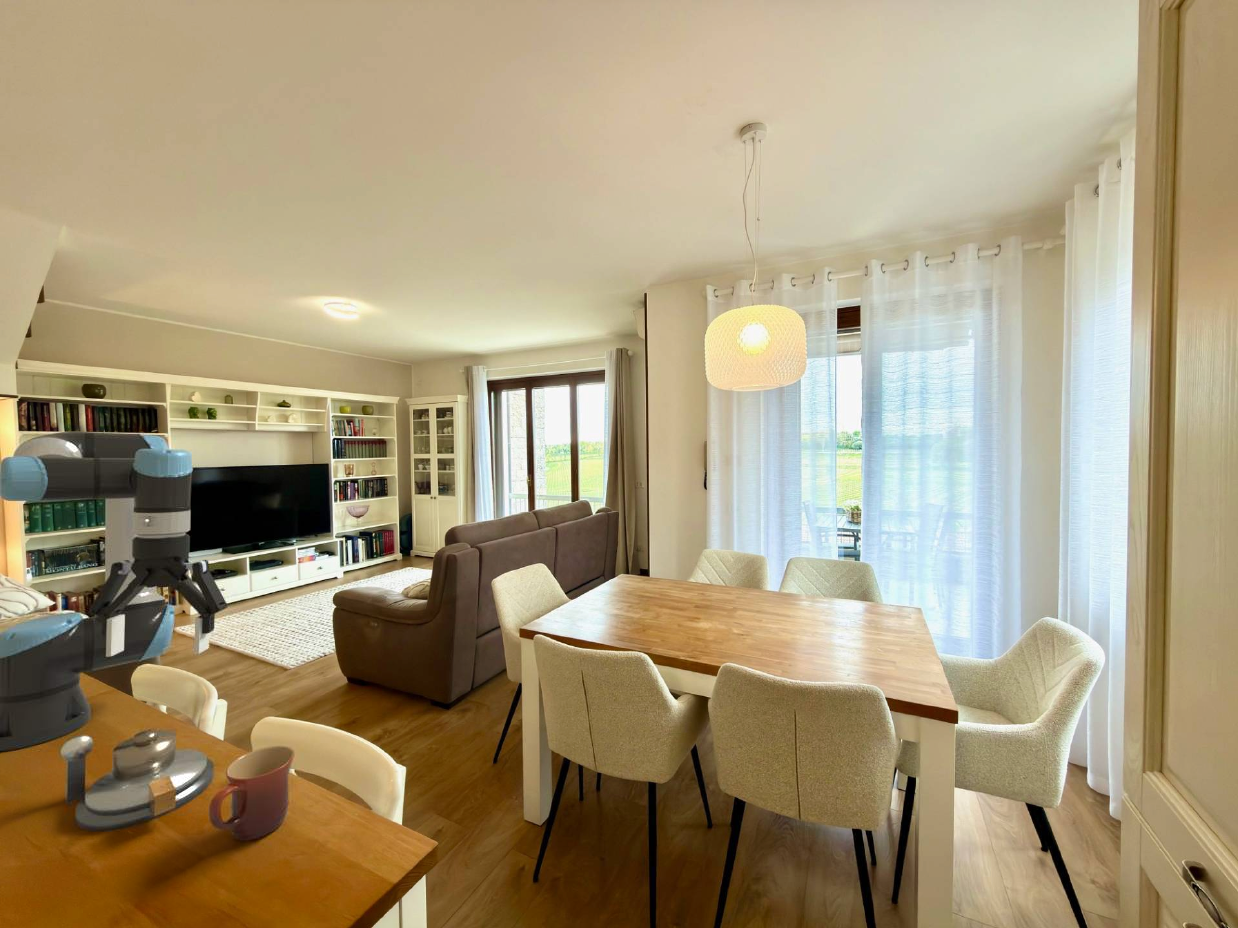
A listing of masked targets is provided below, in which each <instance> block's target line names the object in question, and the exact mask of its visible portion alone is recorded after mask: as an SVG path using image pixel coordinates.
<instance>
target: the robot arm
mask: <svg viewBox="0 0 1238 928" xmlns="http://www.w3.org/2000/svg"><path fill="white" fill-rule="evenodd" d="M193 470H194V467H193V465H192V454H191V452H189V450H186V449H173V448H172V449H169V446H168V443H167V442H166V439H164V438H162V437H161V436H158V435H152V434H151V435H149V434H142V433H117V432H115V433H114V432H92V431H89V432H88V431H62V432H55V433H47V434H44V435H40V436H35V437H32V438H31V439H28V440H26V441H24V442H22V443H21V444H19V446H17V448H16V449H15V451H14V453H13V456H7V457H4V458H3V459H2V460H1V462H0V498H1V499H2V500H4V501H8V502H28V503H36V502H40V501H41V502H42V501H43V502H44V501H65V500H66V501H71V500H73V501H75V500H105V512H104V513H105V516H104V517H105V520H104V521H105V530H104V531H105V532H104V533H105V534H104V535H105V537H104V539H105V543H104V544H105V545H104V547H105V550H104V551H105V552H104V553H105V555H104V557H105V558H104V559H105V562H104V563H105V564H104V567H105V569H104V574H105V575H104V577H105V578H104V579H105V580H104V582H105V583H104V584H103V586H102V588H101V589H100V590H99V592H98V594H97V596H96V598H95V599H94V601H93V602H92V604H91V606H90V607H89V608H88V611H87V614H88V615H89V616H91V617H85V618H83V615H82V614H81V613H80V612H77V611H75V612H72V611H71V612H66V613H65V612H63V613H57V614H56V613H55V614H50V615H45V616H42V617H39V618H38V617H37V618H34V619H30V620H27V621H25V622H20V623H18V624H16V625H13V626H11V627H8V628H7V629H5V630H3V631H2V632H0V752H5V751H12V750H18V749H23V748H27V747H31V746H36V745H40V744H42V743H45V742H49V741H52V740H55V739H57V738H60V737H63V736H65V735H67V734H70V733H72V732H74V731H76V730H78V729H80V728H82V727H83V726H85V725H86V724H87V723H88V722H89V721H90V720H91V716H92V715H91V714H92V713H91V711H92V709H91V705H90V703H89V701H88V699H87V697H86V695H85V694H84V692H83V689H82V687H81V684H80V682H81V681H80V680H81V677H80V675H81V674H83V673H86V672H88V673H89V672H92V671H97V670H101V669H102V670H103V669H106V668H110V667H116V666H120V665H124V664H125V665H126V664H129V663H135V662H141V661H143V660H148V659H152V658H156V657H159V656H162V655H163V654H164V653H165V652H166V651H167V650H168V648H169V646H170V643H171V641H172V637H173V631H174V626H175V620H176V619H175V612H176V611H175V610H176V609H175V607H174V605H173V604H169V603H168V604H166V597H165V596H163V595H162V594H159V593H158V592H157V590H158V589H157V588H169V587H170V588H171V589H172V590H174V591H177V592H178V593H179V594H180V595H181V596H182V597H183V599H184V600H185V601H187V603H189V605H190V606H191V607H192V608H193V609H194V610H195V611H196V612H197V613H198V614H199V615H197V616H196V617H195V618H194V647H193V649H194V650H193V651H194V653H193V654H194V655H197V654H198V655H199V654H201V653H203V652H205V651H206V650H208V649H209V648H210V633H212V632H214V629H215V616H216V614H218V613H219V612H222V611H224V610H226V609H227V608H228V603H227V601H226V600H225V597H224V596H223V594H222V593H221V590H220V589H219V586H218V585H217V583H216V581H215V579H214V578H213V575H212V573H211V572H210V564H209V561H208V559H203V560H200V561H193V562H190V561H189V554H190V549H191V548H190V545H191V544H190V543H191V542H190V541H191V539H190V538H191V535H189V534H188V532H189V531H191V511H192V510H191V495H192V475H193V474H192V472H193ZM188 571H189V573H190V574H191V575H193V578H194V581H195V582H196V584H197V586H198V587H197V586H196V585H195V584H194V583H193V579H192V578H191V576H189V575H188V574H187V573H188ZM89 719H90V720H89Z"/></svg>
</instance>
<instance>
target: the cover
mask: <svg viewBox="0 0 1238 928" xmlns="http://www.w3.org/2000/svg"><path fill="white" fill-rule="evenodd" d="M176 740H177V733H176V732H175V731H174V730H171V729H170V730H169V729H160V730H157V729H155V728H152V729H146V730H143V731H139V732H137V733H136V734H135V735H134V736H133V737H130V738H129V739H126V740H124V741H122V742H121V743H119V744H118V745H116V746H115V747H114V749H113V750H112V771H113V777H114V778H117V779H130V778H136V777H140V776H144V775H147V774H150V773H153V772H155V771H157V770H159V769H161V768H163V767H165V766H167V765H168V764H170V763H171V762H172V761H173V760H174V759H175V753H176V750H177V748H176V743H177V741H176Z"/></svg>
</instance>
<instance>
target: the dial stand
mask: <svg viewBox="0 0 1238 928" xmlns="http://www.w3.org/2000/svg"><path fill="white" fill-rule="evenodd" d="M93 748H94V741H93V738H92V737H91V736H89V735H87V734H79V735H76V736H73V737H72V738H68V739H67V740H66V742H64V743H63V745H62V746H61V748H60V755H61V758H62V760H65V761H66V772H65V773H66V775H65V776H66V779H65V781H66V782H65V783H66V784H65V802H66V804H67V805H69V804H71V803H74V802H77V801H80V800H81V799H82V798H83V797H84V796H85V794H86V791H85V790H86V761H87V759H86V758H87V756H88V755H89V754H90V752H92V750H93Z"/></svg>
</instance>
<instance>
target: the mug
mask: <svg viewBox="0 0 1238 928" xmlns="http://www.w3.org/2000/svg"><path fill="white" fill-rule="evenodd" d="M295 755H296V754H295V750H294V749H293V748H291V746H287V745H273V746H266V747H261V748H258V749H255V750H252V751H250V752H247V753H246V754H245V753H244V754H243V755H242V756H240V757H238V758H236V759H235V760H234V761H232V762H231V763H230V764H229V765H228V767H227V768H226V769H225V770H226V771H225V777H226V779H227V781H228V784H226V785H225V786H224V787H223V788H221V789H220V790H219V791H218V792H216V794H214V796H213V797H212V799H211V800H210V803H209V807H208V815H209V817H208V818H209V821H210V825H212V826H213V827H214V828H215V829H217V830H221V831H222V830H230V831H231V834H232V835H231V836H232V837H234V839H237V840H242V841H253V840H256V839H259V838H262V837H265V836H266V835H268V834H270V833H272V832H273V831H274V830H276V829H277V828H278V827H279V826H280V825H281V824H282V823H283V822H284V821H285V820H286V817H287V813H288V810H289V805H290V802H289V801H290V800H289V799H290V796H289V795H290V794H289V791H290V790H289V789H290V785H289V777H290V776H289V775H290V771H291V770H290V769H291V767H292V763H293V761H294V758H295ZM229 795H231V801H230V817H228V818H227V819H226V820H223V818H222V803H223V801H224V799H226V798H227V797H228V796H229Z"/></svg>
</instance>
